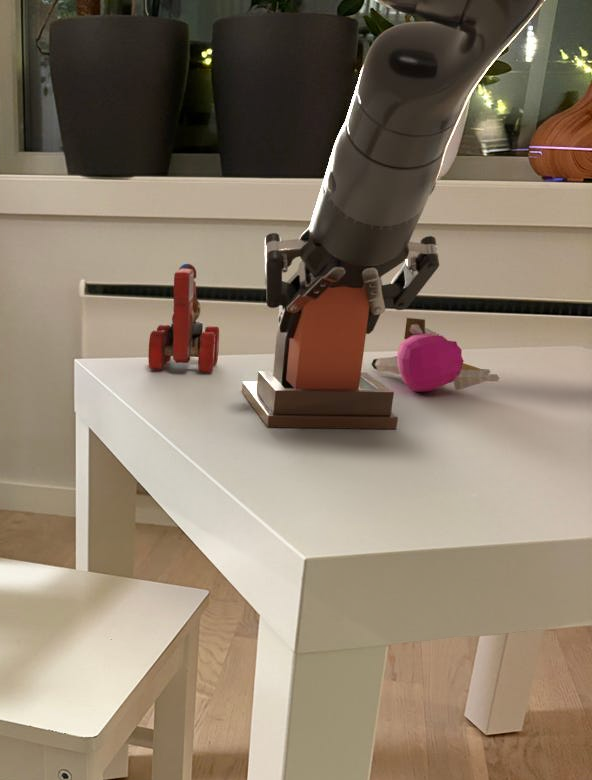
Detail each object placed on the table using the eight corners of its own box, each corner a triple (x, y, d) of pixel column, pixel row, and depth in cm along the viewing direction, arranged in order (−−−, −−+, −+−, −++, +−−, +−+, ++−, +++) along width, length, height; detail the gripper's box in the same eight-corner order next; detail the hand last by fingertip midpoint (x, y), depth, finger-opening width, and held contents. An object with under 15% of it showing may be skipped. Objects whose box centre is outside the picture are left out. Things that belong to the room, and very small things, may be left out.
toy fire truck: (219, 358, 112) (225, 262, 108) (210, 378, 101) (217, 272, 97) (159, 355, 113) (163, 260, 109) (144, 375, 102) (148, 269, 98)
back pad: (358, 391, 84) (373, 280, 80) (295, 389, 84) (306, 278, 80) (346, 381, 88) (359, 275, 84) (285, 380, 88) (296, 273, 84)
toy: (457, 375, 107) (508, 393, 93) (370, 384, 108) (409, 403, 94) (459, 305, 105) (512, 313, 91) (370, 315, 105) (410, 324, 91)
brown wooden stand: (396, 429, 82) (414, 305, 78) (267, 427, 82) (278, 302, 78) (352, 393, 96) (366, 285, 91) (241, 391, 95) (249, 283, 91)
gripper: (470, 143, 71) (398, 297, 87) (275, 138, 71) (239, 294, 87) (484, 225, 69) (407, 368, 84) (281, 220, 68) (243, 365, 84)
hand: (322, 330), depth 85 cm, fingers closed on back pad, 5 cm apart
